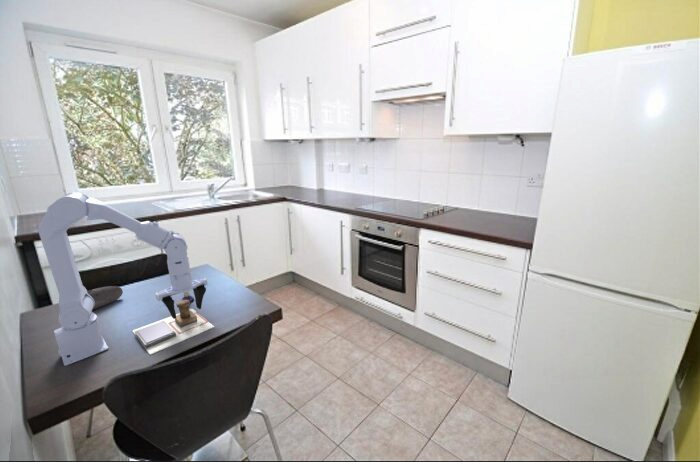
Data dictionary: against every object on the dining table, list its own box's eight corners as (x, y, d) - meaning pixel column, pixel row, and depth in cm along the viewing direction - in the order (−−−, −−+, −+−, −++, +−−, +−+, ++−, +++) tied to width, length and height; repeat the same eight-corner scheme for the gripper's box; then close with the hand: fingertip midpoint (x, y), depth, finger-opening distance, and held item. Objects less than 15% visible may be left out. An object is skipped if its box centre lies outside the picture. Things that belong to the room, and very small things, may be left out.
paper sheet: (150, 355, 87) (149, 353, 86) (132, 331, 98) (132, 330, 98) (214, 327, 99) (214, 326, 99) (192, 309, 110) (192, 308, 110)
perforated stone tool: (121, 296, 121) (117, 279, 119) (127, 299, 118) (123, 282, 116) (72, 313, 109) (66, 294, 107) (77, 317, 106) (72, 298, 104)
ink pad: (145, 348, 89) (144, 344, 88) (135, 335, 95) (134, 330, 95) (176, 336, 94) (175, 332, 94) (164, 324, 101) (163, 320, 101)
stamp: (180, 327, 99) (177, 308, 97) (175, 321, 102) (171, 302, 100) (197, 321, 102) (194, 302, 100) (191, 315, 106) (188, 297, 104)
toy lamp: (187, 305, 113) (180, 261, 109) (176, 303, 114) (168, 260, 110) (196, 298, 118) (189, 256, 113) (185, 297, 119) (178, 256, 114)
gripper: (158, 284, 89) (166, 326, 93) (209, 269, 99) (214, 308, 103) (150, 277, 94) (158, 318, 97) (199, 263, 104) (205, 301, 108)
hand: (186, 312), depth 101 cm, fingers open, 7 cm apart
